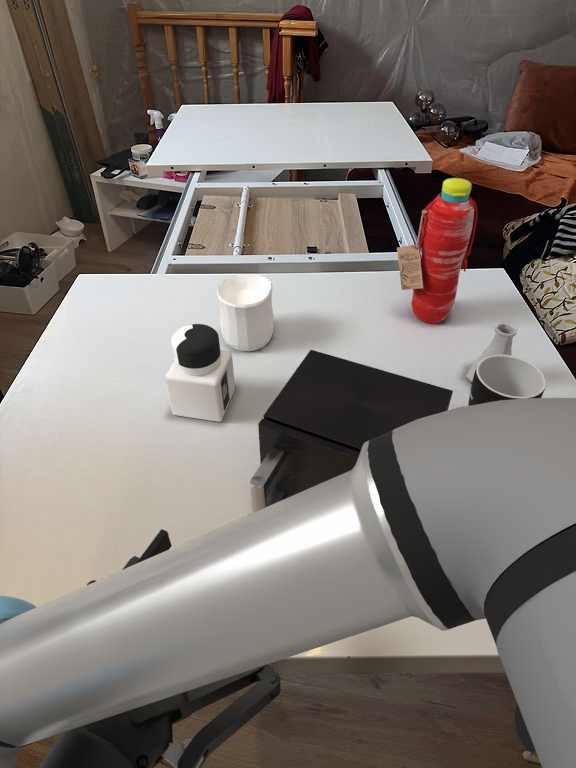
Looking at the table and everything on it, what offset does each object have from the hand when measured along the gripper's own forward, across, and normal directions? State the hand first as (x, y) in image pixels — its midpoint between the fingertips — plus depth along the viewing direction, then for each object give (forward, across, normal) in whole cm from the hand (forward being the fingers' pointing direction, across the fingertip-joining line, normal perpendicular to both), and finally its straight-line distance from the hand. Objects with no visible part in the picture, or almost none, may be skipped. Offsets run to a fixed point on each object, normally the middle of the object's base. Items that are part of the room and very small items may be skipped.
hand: (223, 562), depth 53 cm
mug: (+37, +21, -8) cm, 44 cm away
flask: (+50, +20, -8) cm, 54 cm away
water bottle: (+62, +5, -8) cm, 63 cm away
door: (+10, +6, -8) cm, 14 cm away
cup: (+43, -21, -8) cm, 49 cm away
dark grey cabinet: (+20, +7, -8) cm, 23 cm away
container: (+26, -19, -8) cm, 33 cm away
